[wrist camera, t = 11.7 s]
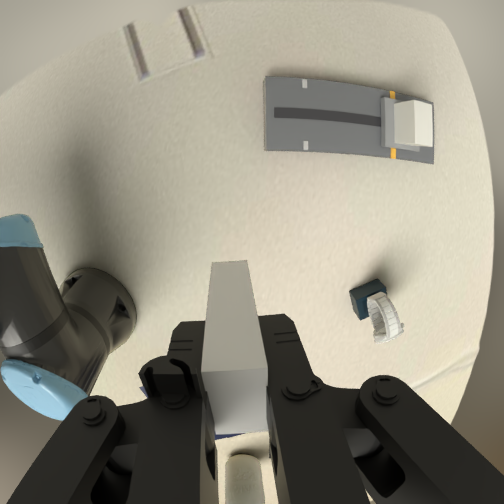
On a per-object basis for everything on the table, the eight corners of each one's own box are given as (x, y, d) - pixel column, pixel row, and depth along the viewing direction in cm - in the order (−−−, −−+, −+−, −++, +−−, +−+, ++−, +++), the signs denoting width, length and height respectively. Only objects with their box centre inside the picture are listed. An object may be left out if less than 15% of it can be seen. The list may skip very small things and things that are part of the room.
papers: (136, 371, 47) (133, 383, 44) (285, 326, 49) (291, 337, 46) (188, 436, 56) (188, 448, 52) (307, 403, 58) (312, 413, 54)
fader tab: (381, 146, 33) (405, 147, 28) (380, 98, 31) (403, 91, 25) (414, 151, 34) (440, 154, 28) (414, 105, 31) (439, 102, 26)
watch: (355, 319, 47) (380, 358, 36) (346, 282, 44) (374, 318, 34) (382, 306, 46) (411, 342, 36) (376, 269, 44) (409, 301, 33)
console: (264, 151, 36) (266, 150, 33) (263, 81, 33) (265, 75, 30) (422, 162, 38) (434, 164, 35) (422, 104, 34) (433, 102, 31)
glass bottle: (227, 464, 64) (229, 544, 38) (222, 449, 60) (222, 540, 34) (261, 462, 64) (269, 543, 38) (260, 447, 60) (268, 538, 34)
